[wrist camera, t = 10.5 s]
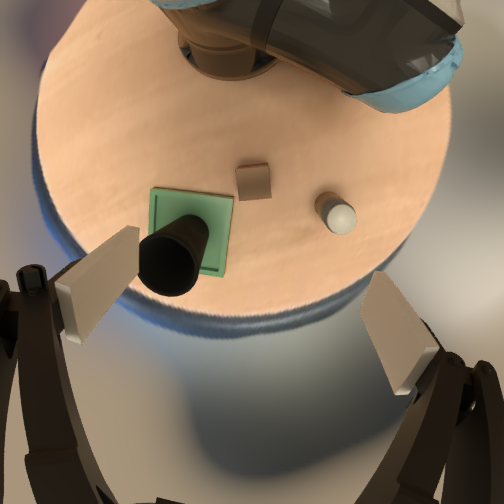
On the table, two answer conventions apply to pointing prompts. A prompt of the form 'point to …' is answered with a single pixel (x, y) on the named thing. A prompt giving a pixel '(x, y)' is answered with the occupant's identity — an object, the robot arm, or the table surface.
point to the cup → (173, 256)
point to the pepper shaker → (335, 213)
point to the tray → (204, 206)
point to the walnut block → (253, 182)
